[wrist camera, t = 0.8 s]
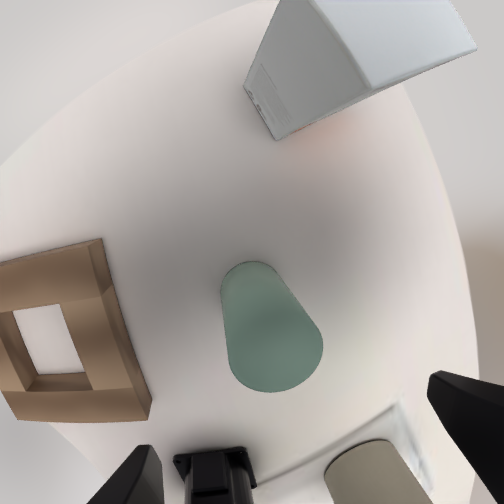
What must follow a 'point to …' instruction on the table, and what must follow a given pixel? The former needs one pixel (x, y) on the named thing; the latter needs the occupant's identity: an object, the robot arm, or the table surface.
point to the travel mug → (373, 477)
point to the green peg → (267, 330)
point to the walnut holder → (83, 336)
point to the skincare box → (347, 54)
